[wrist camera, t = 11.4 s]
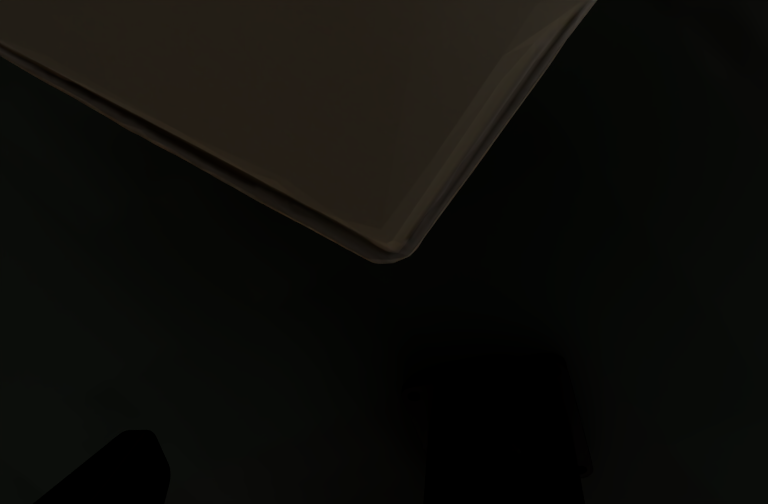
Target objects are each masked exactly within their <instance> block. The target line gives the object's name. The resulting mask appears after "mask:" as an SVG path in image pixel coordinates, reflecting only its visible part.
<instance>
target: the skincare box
mask: <svg viewBox="0 0 768 504" xmlns="http://www.w3.org/2000/svg"><path fill="white" fill-rule="evenodd" d="M596 1H597V0H0V56H2V57H3V58H5V59H7V60H8V61H10V62H12V63H13V64H15V65H17V66H18V67H20V68H22V69H23V70H25V71H27V72H29V73H30V74H32V75H34V76H35V77H37V78H39V79H40V80H42V81H44V82H46V83H47V84H49V85H51V86H53V87H55V88H57V89H59V90H61V91H62V92H64V93H66V94H68V95H70V96H72V97H73V98H75V99H77V100H78V101H80V102H82V103H84V104H85V105H87V106H89V107H90V108H92V109H94V110H96V111H97V112H99V113H101V114H103V115H104V116H106V117H108V118H110V119H111V120H113V121H115V122H116V123H118V124H119V125H121V126H122V127H124V128H126V129H127V130H129V131H131V132H133V133H135V134H138V135H140V136H141V137H143V138H145V139H147V140H148V141H150V142H152V143H154V144H155V145H157V146H159V147H161V148H163V149H165V150H167V151H169V152H171V153H173V154H175V155H177V156H179V157H180V158H182V159H184V160H186V161H188V162H190V163H191V164H193V165H195V166H197V167H198V168H200V169H202V170H204V171H205V172H207V173H209V174H211V175H212V176H214V177H216V178H218V179H219V180H221V181H223V182H224V183H226V184H228V185H230V186H232V187H234V188H236V189H237V190H239V191H241V192H242V193H244V194H246V195H248V196H249V197H251V198H253V199H255V200H257V201H258V202H260V203H262V204H264V205H266V206H268V207H270V208H272V209H274V210H275V211H277V212H279V213H281V214H283V215H285V216H287V217H289V218H291V219H292V220H294V221H296V222H298V223H300V224H302V225H304V226H306V227H307V228H309V229H311V230H313V231H315V232H317V233H318V234H320V235H322V236H324V237H326V238H328V239H329V240H331V241H333V242H335V243H337V244H339V245H340V246H342V247H344V248H346V249H348V250H349V251H351V252H353V253H355V254H357V255H359V256H361V257H363V258H365V259H367V260H369V261H371V262H373V263H378V264H383V263H395V262H397V261H399V260H402V259H404V258H406V257H409V256H410V255H411V254H412V253H413V252H414V251H415V250H416V249H417V248H418V247H419V245H420V244H421V242H422V240H423V239H424V237H425V236H426V234H427V233H428V232H429V230H430V229H431V228H432V226H433V225H434V224H435V222H436V221H437V220H438V218H439V217H440V215H441V214H442V213H443V211H444V210H445V209H446V207H447V206H448V205H449V203H450V202H451V201H452V199H453V198H454V196H455V195H456V194H457V192H458V191H459V190H460V188H461V187H462V186H463V184H464V183H465V182H466V180H467V179H468V178H469V176H470V175H471V173H472V172H473V171H474V169H475V168H476V167H477V165H478V164H479V163H480V161H481V160H482V158H483V157H484V156H485V154H486V153H487V151H488V150H489V149H490V147H491V146H492V144H493V143H494V142H495V140H496V139H497V137H498V136H499V135H500V133H501V132H502V130H503V129H504V128H505V126H506V125H507V124H508V122H509V121H510V119H511V118H512V117H513V115H514V114H515V112H516V111H517V110H518V108H519V107H520V105H521V104H522V103H523V101H524V100H525V99H526V97H527V96H528V94H529V93H530V92H531V90H532V89H533V88H534V86H535V85H536V83H537V82H538V81H539V79H540V78H541V77H542V75H543V74H544V73H545V71H546V70H547V68H548V67H549V66H550V64H551V63H552V61H553V60H554V58H555V57H556V55H557V54H558V52H559V51H560V49H561V48H562V46H563V45H564V43H565V41H566V40H567V38H568V37H569V36H570V35H571V33H572V32H573V31H574V30H575V28H576V27H577V26H578V24H579V23H580V22H581V20H582V19H583V18H584V17H585V15H586V14H587V13H588V11H589V10H590V9H591V7H592V6H593V5H594V4H595V2H596Z"/></svg>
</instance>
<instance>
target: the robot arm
mask: <svg viewBox="0 0 768 504" xmlns="http://www.w3.org/2000/svg"><path fill="white" fill-rule="evenodd" d="M551 367H557V368H558V369H556V370H549V368H551ZM410 392H417V393H418V394H412V393H410ZM401 396H402V400H403V402H404V404H405V407H406V409H407V411H408V414H409V416H410V418H411V421H412V423H413V425H414V427H415V430H416V432H417V434H418V437H419V439H420V441H421V444H422V446H423V448H424V450H425V453H426V455H427V460H426V475H425V489H424V504H585V501H584V496H583V490H582V485H581V479H580V478H584V477H588V476H589V475H591V474H592V472H593V466H592V461H591V457H590V453H589V449H588V446H587V442H586V438H585V434H584V430H583V426H582V422H581V419H580V415H579V411H578V407H577V403H576V399H575V396H574V392H573V388H572V384H571V380H570V376H569V372H568V369H567V365H566V362H565V360H564V359H563V358H562V357H560V356H557V355H548V356H543V357H537V358H532V359H526V360H521V361H515V362H510V363H504V364H499V365H493V366H487V367H482V368H476V369H471V370H465V371H460V372H454V373H449V374H443V375H438V376H432V377H426V378H421V379H415V380H410V381H407V382H406V383H405V384H404V385H403V387H402V394H401ZM169 482H170V468H169V464H168V462H167V460H166V457H165V455H164V453H163V451H162V449H161V446H160V444H159V442H158V440H157V438H156V436H155V434H154V433H153V432H151V431H150V430H128V431H124V432H122V433H121V434H119V435H118V436H117V437H115V438H114V439H113V440H112V441H110V442H109V443H108V444H107V445H105V446H104V447H103V448H102V449H100V450H99V451H98V452H97V453H96V454H94V455H93V456H92V457H91V458H89V459H88V460H87V461H86V462H84V463H83V464H82V465H81V466H79V467H78V468H77V469H76V470H74V471H73V472H72V473H71V474H69V475H68V476H67V477H66V478H64V479H63V480H62V481H61V482H59V483H58V484H57V485H56V486H54V487H53V488H52V489H51V490H50V491H48V492H47V493H46V494H45V495H43V496H42V497H41V498H40V499H38V500H37V501H36V502H35V503H33V504H164V502H165V498H166V494H167V490H168V487H169Z"/></svg>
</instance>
